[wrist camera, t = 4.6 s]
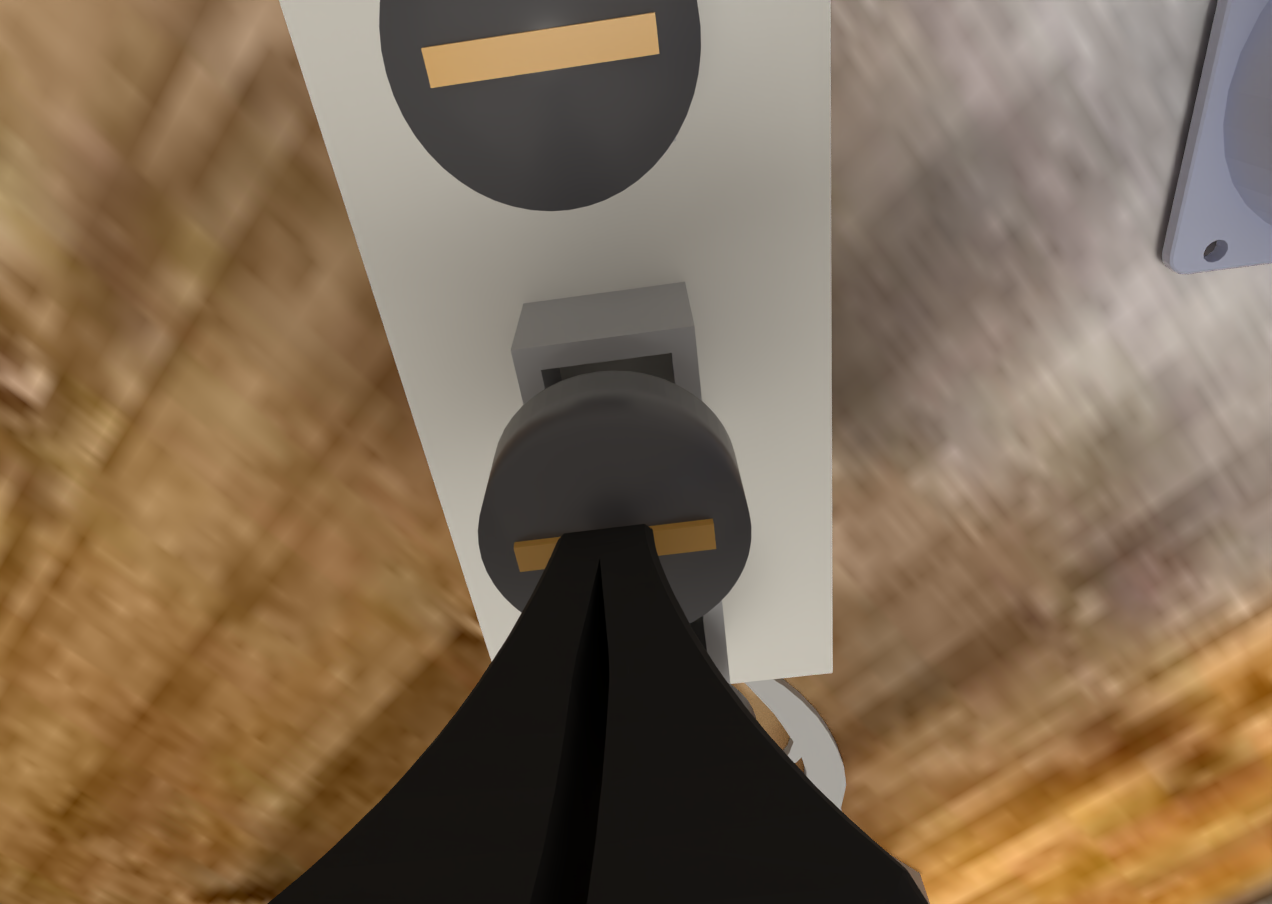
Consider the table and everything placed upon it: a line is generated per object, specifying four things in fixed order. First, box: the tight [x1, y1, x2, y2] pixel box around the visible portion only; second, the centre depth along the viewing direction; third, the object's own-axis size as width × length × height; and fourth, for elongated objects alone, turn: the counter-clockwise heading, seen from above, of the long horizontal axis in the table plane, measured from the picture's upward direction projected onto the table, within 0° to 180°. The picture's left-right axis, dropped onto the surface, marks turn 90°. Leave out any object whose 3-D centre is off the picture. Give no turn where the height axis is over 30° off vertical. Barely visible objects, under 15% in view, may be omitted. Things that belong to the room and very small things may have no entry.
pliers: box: [744, 678, 930, 904], centre depth 30 cm, size 10×2×15 cm
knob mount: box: [279, 0, 833, 685], centre depth 18 cm, size 10×22×4 cm, turn 8°
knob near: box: [379, 0, 701, 211], centre depth 13 cm, size 4×4×4 cm
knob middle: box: [478, 371, 751, 623], centre depth 14 cm, size 4×4×4 cm
